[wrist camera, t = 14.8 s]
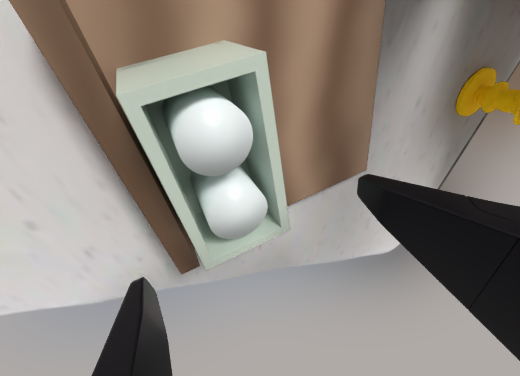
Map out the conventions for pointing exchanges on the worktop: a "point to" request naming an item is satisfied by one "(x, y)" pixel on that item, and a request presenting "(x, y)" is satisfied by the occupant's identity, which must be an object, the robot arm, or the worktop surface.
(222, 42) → the pale green crate
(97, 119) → the walnut shelf
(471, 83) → the candle
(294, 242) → the worktop surface
